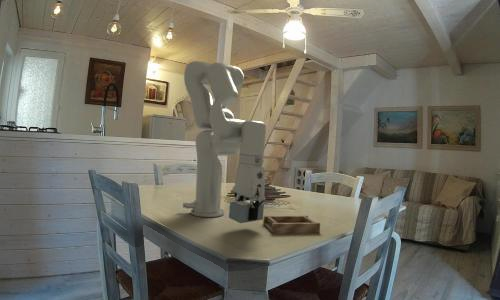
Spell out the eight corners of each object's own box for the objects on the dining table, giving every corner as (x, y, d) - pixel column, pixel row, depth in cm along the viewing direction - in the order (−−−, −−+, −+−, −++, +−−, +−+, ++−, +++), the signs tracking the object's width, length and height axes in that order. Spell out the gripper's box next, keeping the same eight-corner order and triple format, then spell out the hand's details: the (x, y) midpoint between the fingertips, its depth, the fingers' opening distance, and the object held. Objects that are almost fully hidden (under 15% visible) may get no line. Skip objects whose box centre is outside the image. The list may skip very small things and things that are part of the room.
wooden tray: (272, 233, 91) (272, 224, 91) (263, 224, 101) (263, 215, 101) (319, 232, 95) (320, 223, 95) (306, 224, 104) (307, 215, 104)
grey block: (240, 223, 88) (241, 206, 88) (228, 217, 93) (230, 201, 92) (262, 219, 94) (264, 203, 93) (250, 214, 98) (251, 199, 98)
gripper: (278, 164, 88) (273, 223, 89) (243, 157, 101) (239, 208, 102) (259, 164, 83) (254, 226, 84) (225, 157, 96) (221, 211, 98)
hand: (246, 216), depth 93 cm, fingers closed on grey block, 6 cm apart
